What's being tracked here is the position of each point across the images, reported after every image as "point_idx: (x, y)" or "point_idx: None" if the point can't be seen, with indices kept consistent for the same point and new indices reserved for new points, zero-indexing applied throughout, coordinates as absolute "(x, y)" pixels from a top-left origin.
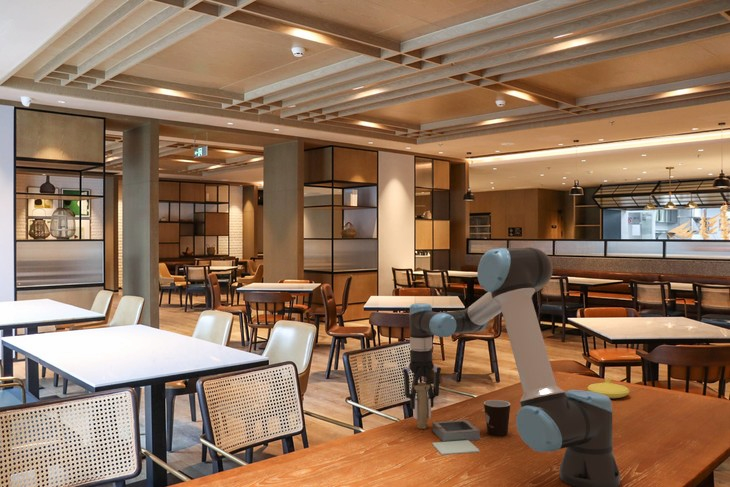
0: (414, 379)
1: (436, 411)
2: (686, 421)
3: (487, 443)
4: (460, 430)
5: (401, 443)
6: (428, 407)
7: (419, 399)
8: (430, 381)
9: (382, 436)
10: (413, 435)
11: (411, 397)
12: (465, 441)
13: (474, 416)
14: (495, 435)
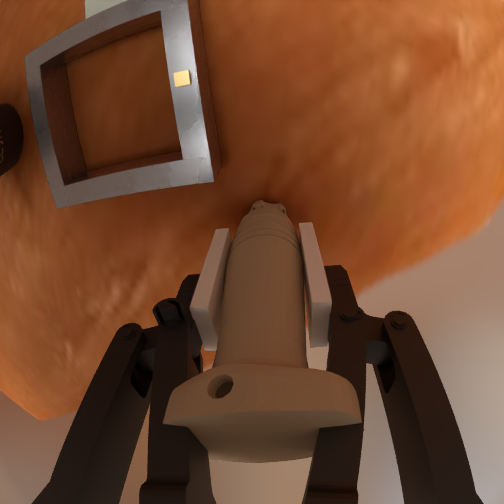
0: (351, 490)
1: None
2: None
3: (39, 24)
4: (89, 36)
5: (408, 27)
6: (219, 268)
7: (291, 307)
8: (148, 452)
9: (462, 143)
10: (335, 116)
11: (363, 323)
12: (101, 7)
13: (75, 311)
14: (6, 105)
